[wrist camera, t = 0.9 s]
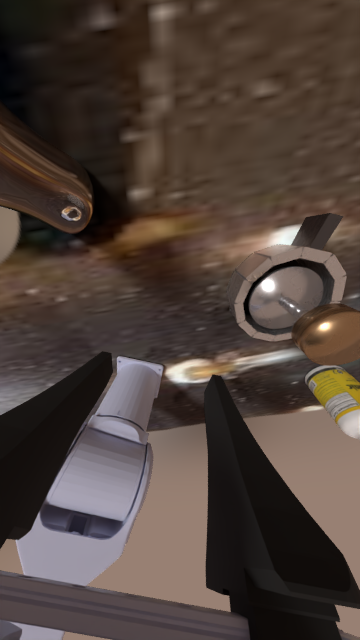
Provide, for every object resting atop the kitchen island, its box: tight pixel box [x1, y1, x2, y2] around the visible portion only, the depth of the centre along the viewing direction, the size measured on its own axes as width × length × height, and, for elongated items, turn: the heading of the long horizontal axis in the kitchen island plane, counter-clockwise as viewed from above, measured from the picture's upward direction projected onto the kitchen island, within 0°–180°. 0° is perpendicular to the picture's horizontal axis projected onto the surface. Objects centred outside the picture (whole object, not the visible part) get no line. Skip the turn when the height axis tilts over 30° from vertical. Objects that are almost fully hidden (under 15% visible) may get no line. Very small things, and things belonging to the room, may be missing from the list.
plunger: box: [248, 266, 360, 366], centre depth 11 cm, size 6×6×7 cm
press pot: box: [227, 213, 347, 342], centre depth 15 cm, size 11×9×4 cm
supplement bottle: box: [305, 365, 360, 439], centre depth 19 cm, size 5×5×10 cm
